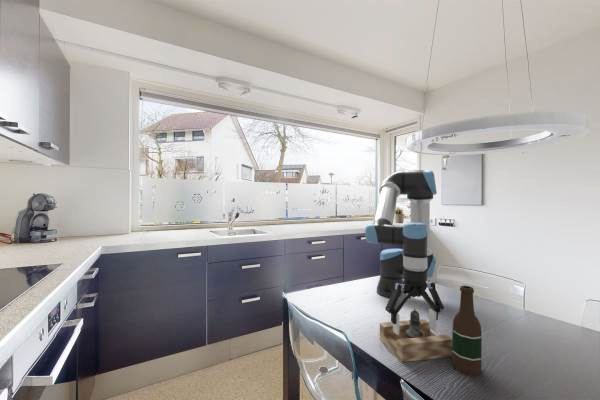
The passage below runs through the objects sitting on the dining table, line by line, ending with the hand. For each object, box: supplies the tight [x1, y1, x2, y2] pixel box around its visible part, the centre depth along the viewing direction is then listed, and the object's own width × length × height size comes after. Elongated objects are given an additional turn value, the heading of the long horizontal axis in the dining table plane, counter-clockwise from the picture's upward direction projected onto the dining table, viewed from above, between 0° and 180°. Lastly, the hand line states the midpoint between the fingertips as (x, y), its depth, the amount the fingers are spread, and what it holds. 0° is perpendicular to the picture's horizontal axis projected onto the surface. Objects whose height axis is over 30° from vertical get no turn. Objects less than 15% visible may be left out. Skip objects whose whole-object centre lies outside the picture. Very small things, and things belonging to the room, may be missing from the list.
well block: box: [379, 318, 452, 363], centre depth 90 cm, size 18×14×6 cm
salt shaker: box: [405, 308, 424, 338], centre depth 90 cm, size 6×6×12 cm
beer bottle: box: [451, 285, 483, 377], centre depth 78 cm, size 8×8×24 cm
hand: (414, 331), depth 90 cm, fingers open, 13 cm apart
